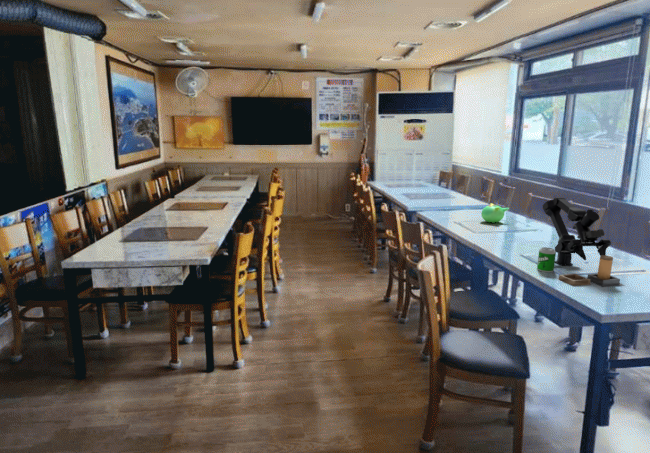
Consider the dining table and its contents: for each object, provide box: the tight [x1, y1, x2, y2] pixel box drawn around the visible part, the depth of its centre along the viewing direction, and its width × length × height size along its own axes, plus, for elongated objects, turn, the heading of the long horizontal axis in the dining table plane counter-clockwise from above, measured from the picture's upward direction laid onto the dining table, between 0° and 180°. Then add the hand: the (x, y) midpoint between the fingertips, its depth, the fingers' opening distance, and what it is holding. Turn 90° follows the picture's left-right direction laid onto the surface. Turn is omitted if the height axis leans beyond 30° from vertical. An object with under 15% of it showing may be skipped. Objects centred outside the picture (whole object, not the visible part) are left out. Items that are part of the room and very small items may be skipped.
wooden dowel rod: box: [596, 254, 614, 280], centre depth 204 cm, size 5×5×12 cm
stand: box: [557, 273, 592, 287], centre depth 206 cm, size 10×10×3 cm
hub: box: [586, 273, 624, 288], centre depth 205 cm, size 12×12×4 cm
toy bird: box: [481, 202, 510, 224], centre depth 346 cm, size 18×17×15 cm
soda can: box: [536, 247, 557, 273], centre depth 222 cm, size 8×8×12 cm
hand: (595, 259), depth 211 cm, fingers open, 9 cm apart
